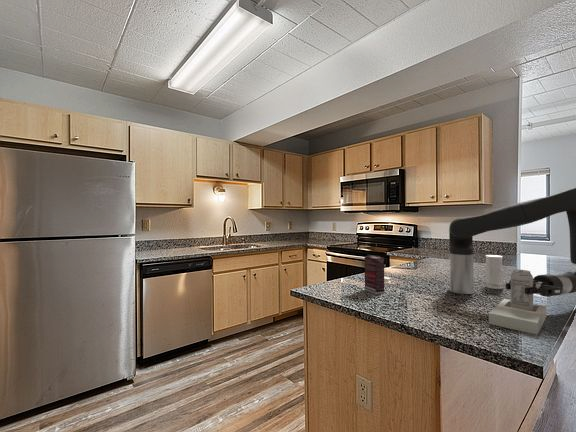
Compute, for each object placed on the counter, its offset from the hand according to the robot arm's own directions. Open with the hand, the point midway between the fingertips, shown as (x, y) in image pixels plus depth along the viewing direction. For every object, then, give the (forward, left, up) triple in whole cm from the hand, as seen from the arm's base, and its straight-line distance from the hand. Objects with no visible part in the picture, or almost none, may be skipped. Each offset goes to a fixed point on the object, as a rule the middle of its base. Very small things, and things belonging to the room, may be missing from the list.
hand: (516, 288), depth 100 cm
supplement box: (-49, +15, -10) cm, 52 cm away
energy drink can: (+2, +2, -9) cm, 10 cm away
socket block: (0, -3, -10) cm, 10 cm away
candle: (+2, +45, -10) cm, 46 cm away
